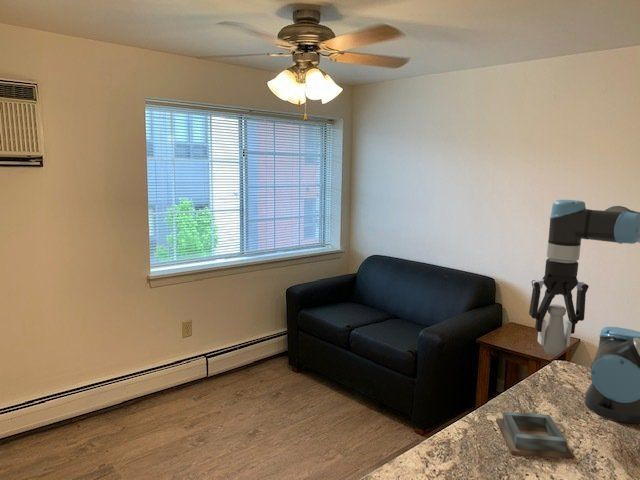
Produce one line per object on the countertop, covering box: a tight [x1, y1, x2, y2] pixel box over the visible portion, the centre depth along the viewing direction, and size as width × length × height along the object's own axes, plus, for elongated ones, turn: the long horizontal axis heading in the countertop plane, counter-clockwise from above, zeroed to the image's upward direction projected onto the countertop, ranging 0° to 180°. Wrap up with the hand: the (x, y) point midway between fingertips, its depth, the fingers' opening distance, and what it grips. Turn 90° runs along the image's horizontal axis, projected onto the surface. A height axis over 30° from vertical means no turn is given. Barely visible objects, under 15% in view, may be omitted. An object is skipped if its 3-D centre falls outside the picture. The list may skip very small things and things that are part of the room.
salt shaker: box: [541, 303, 567, 356], centre depth 125 cm, size 6×6×13 cm
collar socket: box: [495, 411, 575, 460], centre depth 116 cm, size 14×14×4 cm
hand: (553, 343), depth 125 cm, fingers closed on salt shaker, 6 cm apart
